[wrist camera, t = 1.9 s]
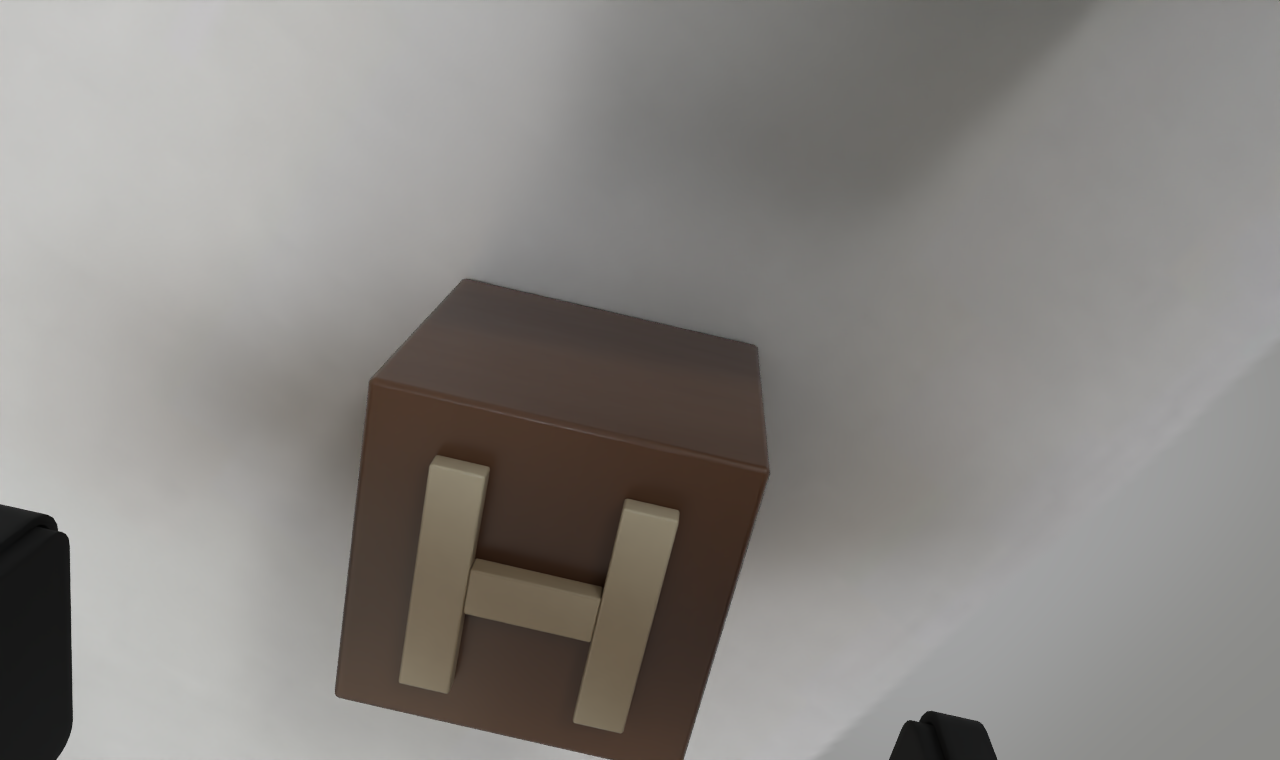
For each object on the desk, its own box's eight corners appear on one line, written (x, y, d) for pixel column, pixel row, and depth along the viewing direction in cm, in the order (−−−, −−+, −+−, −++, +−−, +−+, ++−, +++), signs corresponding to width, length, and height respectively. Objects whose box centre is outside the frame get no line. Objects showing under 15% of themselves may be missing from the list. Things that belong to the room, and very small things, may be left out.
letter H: (462, 276, 16) (358, 386, 11) (759, 344, 16) (773, 482, 11) (425, 531, 17) (323, 713, 13) (689, 592, 17) (677, 794, 13)
